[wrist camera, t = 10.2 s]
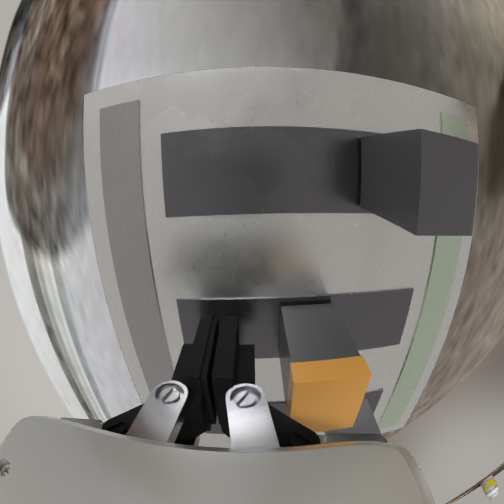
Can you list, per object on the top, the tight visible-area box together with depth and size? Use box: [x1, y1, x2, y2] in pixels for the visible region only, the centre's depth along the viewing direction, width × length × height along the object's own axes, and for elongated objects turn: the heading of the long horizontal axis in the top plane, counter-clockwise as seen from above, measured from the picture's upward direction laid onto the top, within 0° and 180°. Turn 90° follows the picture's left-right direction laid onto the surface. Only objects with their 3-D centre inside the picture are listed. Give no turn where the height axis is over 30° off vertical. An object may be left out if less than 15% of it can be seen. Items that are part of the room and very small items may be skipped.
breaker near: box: [360, 129, 478, 236], centre depth 8 cm, size 3×2×4 cm
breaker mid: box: [279, 303, 372, 433], centre depth 11 cm, size 3×3×5 cm
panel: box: [84, 67, 479, 448], centre depth 14 cm, size 24×20×2 cm
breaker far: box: [324, 398, 382, 436], centre depth 13 cm, size 3×2×4 cm
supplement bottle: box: [481, 475, 498, 500], centre depth 42 cm, size 7×7×13 cm
